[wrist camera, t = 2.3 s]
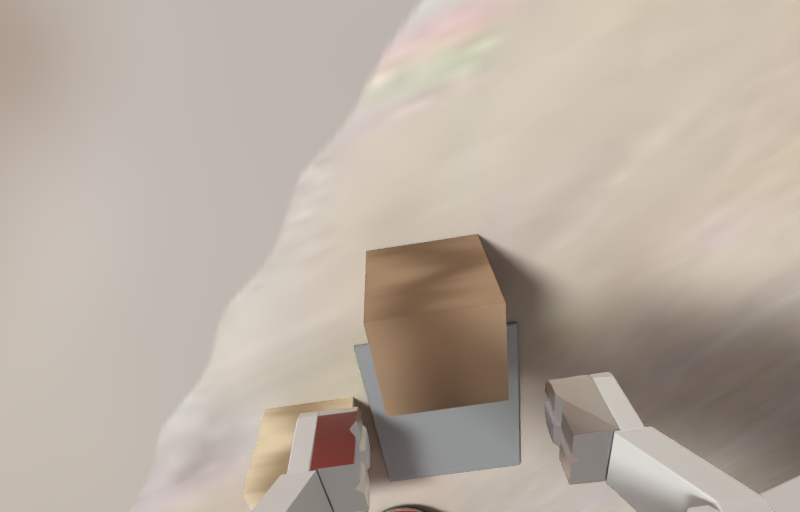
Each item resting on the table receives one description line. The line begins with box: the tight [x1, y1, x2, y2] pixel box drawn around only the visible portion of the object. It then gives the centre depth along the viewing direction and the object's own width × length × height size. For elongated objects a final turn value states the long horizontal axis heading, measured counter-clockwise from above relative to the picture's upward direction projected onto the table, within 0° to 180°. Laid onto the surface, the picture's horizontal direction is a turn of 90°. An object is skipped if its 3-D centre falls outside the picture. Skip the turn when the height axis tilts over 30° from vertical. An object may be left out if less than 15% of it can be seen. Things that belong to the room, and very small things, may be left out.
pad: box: [354, 323, 520, 482], centre depth 31 cm, size 10×14×1 cm
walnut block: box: [364, 234, 509, 417], centre depth 23 cm, size 6×6×6 cm
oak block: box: [242, 397, 369, 512], centre depth 29 cm, size 6×6×6 cm
